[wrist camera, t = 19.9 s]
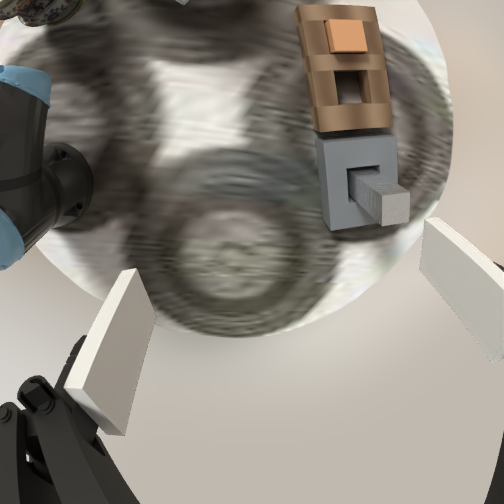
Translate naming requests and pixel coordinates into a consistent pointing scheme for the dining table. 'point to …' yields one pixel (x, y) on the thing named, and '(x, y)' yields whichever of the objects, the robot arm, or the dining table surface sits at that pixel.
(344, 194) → the block
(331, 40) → the plunger
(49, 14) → the apothecary jar
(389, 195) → the steel peg
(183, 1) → the tea box
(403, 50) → the dining table surface
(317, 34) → the socket block
